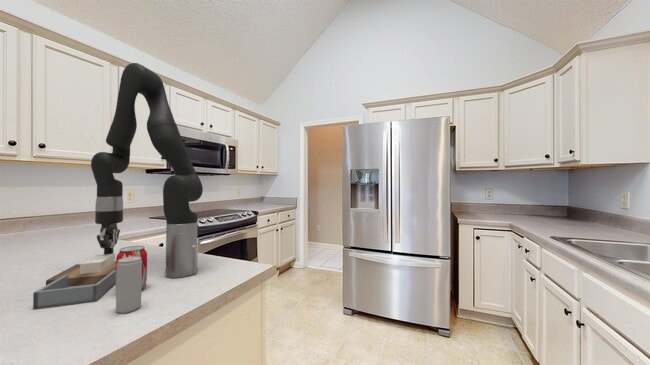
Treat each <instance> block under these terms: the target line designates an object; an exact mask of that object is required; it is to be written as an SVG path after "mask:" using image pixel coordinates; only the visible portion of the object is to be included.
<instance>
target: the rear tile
mask: <svg viewBox="0 0 650 365" xmlns="http://www.w3.org/2000/svg"><path fill="white" fill-rule="evenodd" d="M102 258H108V266H110V265H112V264H113V263H114V262H115V261H116V253H113V254H104V253H103V254H97V255H94V256H92V257H91V258H89V259H102Z"/></svg>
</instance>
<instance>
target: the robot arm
mask: <svg viewBox="0 0 650 365" xmlns="http://www.w3.org/2000/svg"><path fill="white" fill-rule="evenodd" d="M138 94H140V95H142V96H143V98H145V101H146V104H147V105H148V106H147V107H148V109H149V114H148V117H147V121H146V130H147V133H148V136H149V139H150V141H151V144H152V145H153V148H154V149H155V150H156V151H157V153H158V154H159V155H160V156H161V157H162V158H163V159H164V161H166V162H167V164H169V166H170V167H171V169H172V170H173V174H174V175H171V176H169V177H167V178H166V180H165V182H164V183H163V186H162V187H163V189H162V201H163V202H162V203H163V205H162V206H163V214H164V217H165V219H166V220H165V221H166V223H165V224H166V225H165V227H166V228H165V277H166V278H171V279H177V278H178V279H179V278H184V277H189V276H193V275H196V274H197V272H198V261H199V260H198V255H199V254H198V250H199V249H198V248H199V244H198V214H197V212H194V211H193V210H192V209H190V202H191V203H193V202H197V201H199V199H201V197H202V195H203V192H204V190H203V189H204V187H203V183H202V181H201V179H200V177H199V175H198V173H197V171H196V169H195V167H194V166H193V164H192V161H191V159H190V156H189V154H188V151H187V149H186V147H185V144H184V142H183V138H182V136H181V133H180V130H179V128H178V125H177V124H176V121H175V118H174V115H173V113H172V112H173V111H172V109H171V107H170V105H169V100H168V97H167V94H166V90H165V85H164V83H163V80H162V78H161V77H160V76H159V74H157V73H156V72H154V71H152V70H151V69H149V68H147V67H146V66H144V65H142V64H141V63H138V62H130V63H129V64H127V65H126V66H125V67H124V69H123V71H122V74H121V77H120V83H119V88H118V94H117V99H116V100H117V101H116V106H115V112H114V116H113V120H112V121H111V124H110V127H109V130H108V132H107V136H106V138H105V142H106V144H107V145H108V146H110V147H112V150H111V151H112V152H107V151H100V152H97V153H95V154H94V155H93V156H92V158H91V161H90V167H91V168H90V169H91V171H92V173H93V178H94V180H95V183H96V199H95V209H94V210H95V212H94V213H95V214H94V217H95V218H94V223H95V224H96V225H101V227H100V230H99V234H97V235H96V239H97V242H98V245H99V247H100V249H103V254H114V248H115V246H116V245H117V243H118V240H119V237H120V233H121V230H120V229H119V227H118V223H122V222H123V221H124V200H123V194H124V193H123V192H124V190H123V189H124V188H123V182H122V181H121V180H118V179H116V178H115V176H114V174H122V173H123V172H125V171H126V170H127V169H128V167H129V165H130V162H131V160H130V159H131V146H132V142H133V140H134V138H135V135H136V132H137V125H138V124H137V122H138V121H137V117H136V108H135V107H136V106H135V105H136V99H137V97H138Z"/></svg>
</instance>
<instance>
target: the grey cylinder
mask: <svg viewBox="0 0 650 365" xmlns="http://www.w3.org/2000/svg"><path fill="white" fill-rule="evenodd" d="M141 286H142V260H141V257H138V256H135V257H126V258H122V259H119V260H118V263H117V278H116V284H115V290H116V291H115V292H116V293H115V311H116V312H117V313H118V314H128V313H131V312H132V313H133V312H134V311H137V310H138V309H139V308H140V307H141V306H142V290H141Z"/></svg>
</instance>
